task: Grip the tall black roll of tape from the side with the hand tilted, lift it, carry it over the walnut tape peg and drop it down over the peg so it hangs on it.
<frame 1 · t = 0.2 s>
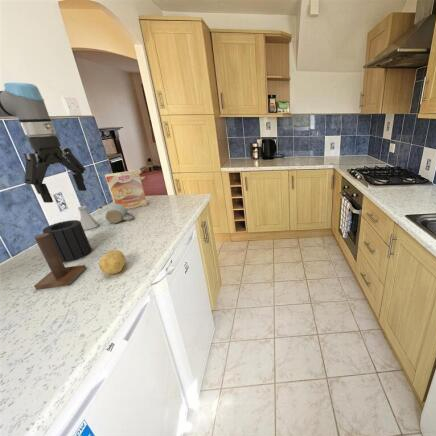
hand: (67, 196, 90), 21 cm above the countertop, tool pointing down, fingers open, 13 cm apart
flask: (90, 227, 114), on the countertop
potato: (115, 270, 81), on the countertop
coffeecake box: (132, 207, 138), on the countertop
ceramic mug: (122, 220, 121), on the countertop
tape peg: (62, 278, 77), on the countertop
tape roll: (75, 254, 91), on the countertop
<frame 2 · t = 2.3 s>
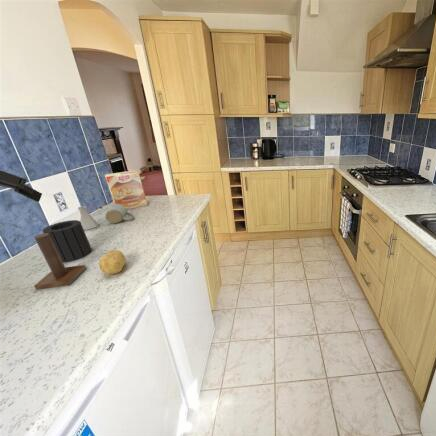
hand: (16, 199, 73), 25 cm above the countertop, tool tilted 45°, fingers open, 13 cm apart
nothing on the countertop moved.
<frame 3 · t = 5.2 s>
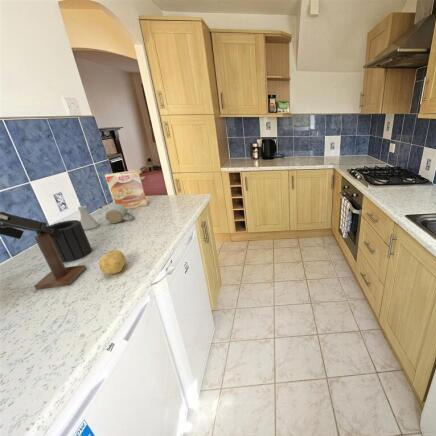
hand: (40, 235, 79), 12 cm above the countertop, tool tilted 45°, fingers open, 13 cm apart
nothing on the countertop moved.
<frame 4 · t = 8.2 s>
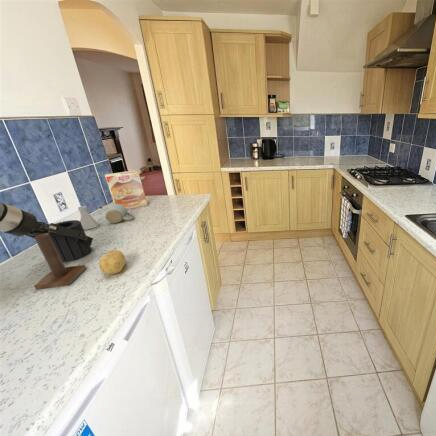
hand: (77, 241, 92), 4 cm above the countertop, tool tilted 45°, fingers closed on tape roll, 10 cm apart
tape roll: (75, 254, 91), on the countertop, touching gripper
everything else where it was.
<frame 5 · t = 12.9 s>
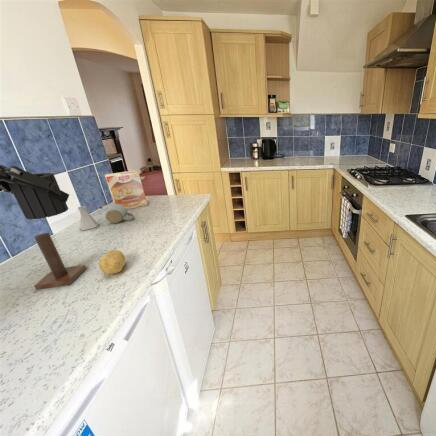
hand: (51, 198, 79), 23 cm above the countertop, tool tilted 45°, fingers closed on tape roll, 10 cm apart
tape roll: (47, 213, 78), point 19 cm above the countertop, touching gripper
everything else where it was.
when the fingers open (13 cm above the countertop, at t = 17.9 s): tape roll drops 7 cm, resting on tape peg.
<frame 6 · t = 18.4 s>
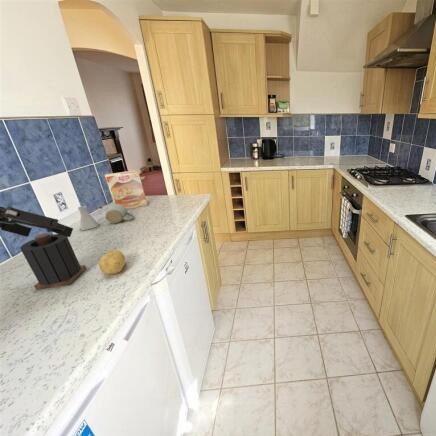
hand: (49, 232, 74), 15 cm above the countertop, tool tilted 45°, fingers open, 13 cm apart
tape roll: (60, 274, 77), point 1 cm above the countertop, touching tape peg
everything else where it was.
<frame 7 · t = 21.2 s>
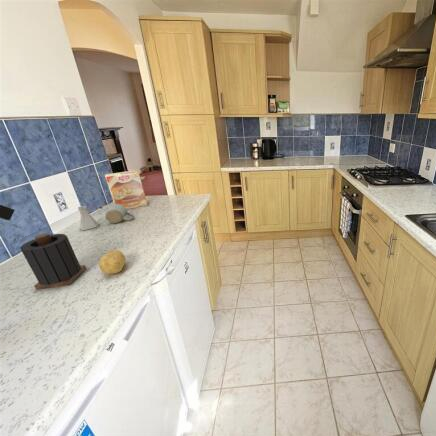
nothing on the countertop moved.
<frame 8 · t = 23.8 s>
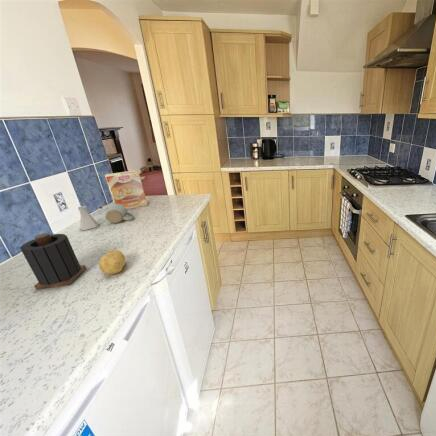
nothing on the countertop moved.
at the end: tape roll 0.1 cm from the tape peg (horizontally); tape roll point 1.5 cm above the countertop; the gripper is holding nothing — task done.
